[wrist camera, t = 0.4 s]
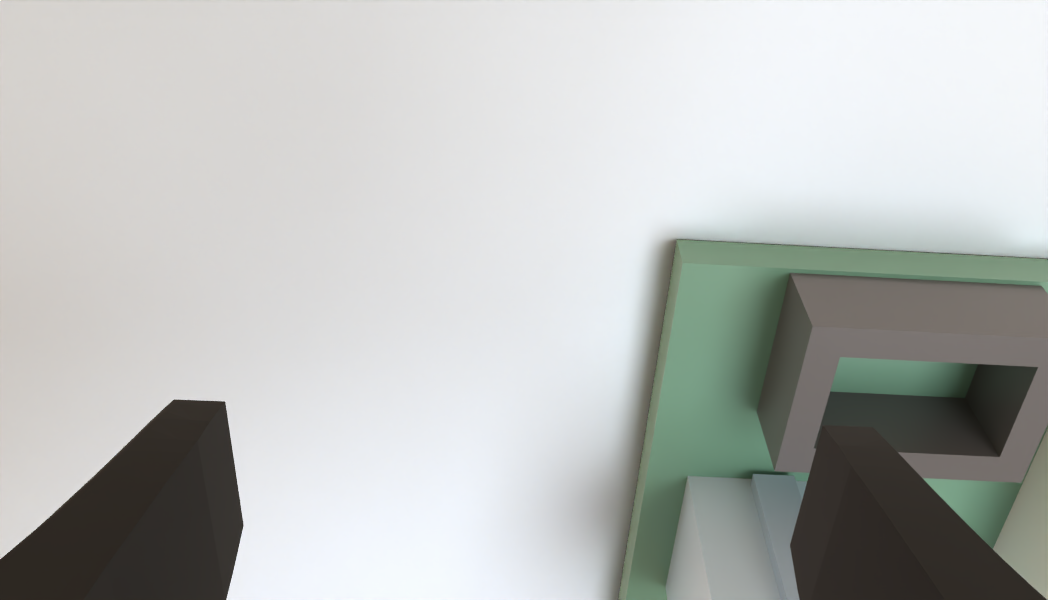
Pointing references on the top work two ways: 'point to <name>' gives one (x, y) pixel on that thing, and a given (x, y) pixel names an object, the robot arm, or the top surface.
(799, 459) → the block
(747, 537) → the plug
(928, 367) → the board
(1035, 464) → the frame
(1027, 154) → the top surface
